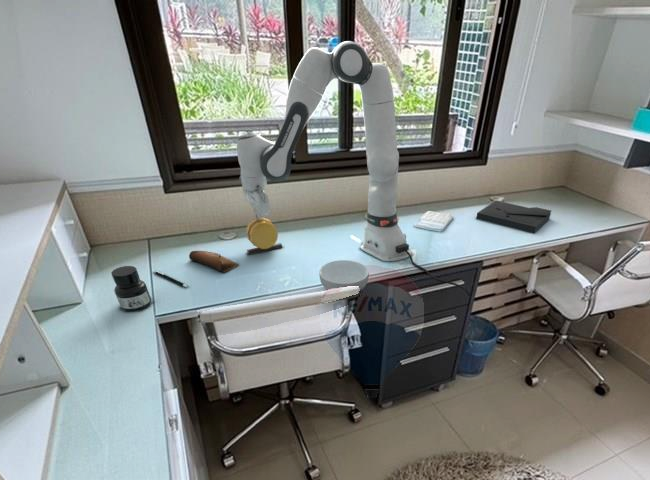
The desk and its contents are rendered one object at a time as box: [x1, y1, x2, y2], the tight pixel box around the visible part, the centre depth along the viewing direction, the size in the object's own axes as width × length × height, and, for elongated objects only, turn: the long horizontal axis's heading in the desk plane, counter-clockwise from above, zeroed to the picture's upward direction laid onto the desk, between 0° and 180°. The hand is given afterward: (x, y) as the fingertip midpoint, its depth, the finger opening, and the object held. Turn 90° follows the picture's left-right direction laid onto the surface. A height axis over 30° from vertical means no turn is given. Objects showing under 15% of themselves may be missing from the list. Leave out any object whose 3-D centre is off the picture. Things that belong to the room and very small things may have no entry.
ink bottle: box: [111, 265, 152, 312], centre depth 126 cm, size 10×9×12 cm
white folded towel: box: [414, 210, 454, 233], centre depth 191 cm, size 13×20×2 cm, turn 155°
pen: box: [153, 270, 188, 288], centre depth 142 cm, size 1×19×1 cm, turn 56°
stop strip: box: [246, 242, 283, 255], centre depth 163 cm, size 1×14×2 cm, turn 120°
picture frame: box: [475, 200, 552, 234], centre depth 197 cm, size 23×4×28 cm
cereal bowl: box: [318, 259, 370, 291], centre depth 138 cm, size 17×17×7 cm
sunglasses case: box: [188, 250, 239, 273], centre depth 152 cm, size 18×7×7 cm
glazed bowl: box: [245, 217, 279, 249], centre depth 159 cm, size 11×11×6 cm
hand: (259, 219), depth 156 cm, fingers closed, pressing on glazed bowl
